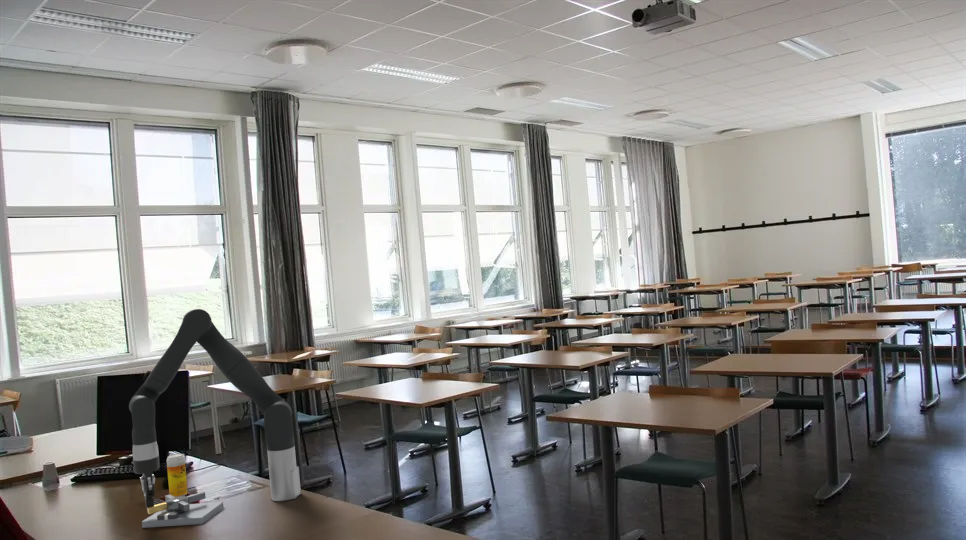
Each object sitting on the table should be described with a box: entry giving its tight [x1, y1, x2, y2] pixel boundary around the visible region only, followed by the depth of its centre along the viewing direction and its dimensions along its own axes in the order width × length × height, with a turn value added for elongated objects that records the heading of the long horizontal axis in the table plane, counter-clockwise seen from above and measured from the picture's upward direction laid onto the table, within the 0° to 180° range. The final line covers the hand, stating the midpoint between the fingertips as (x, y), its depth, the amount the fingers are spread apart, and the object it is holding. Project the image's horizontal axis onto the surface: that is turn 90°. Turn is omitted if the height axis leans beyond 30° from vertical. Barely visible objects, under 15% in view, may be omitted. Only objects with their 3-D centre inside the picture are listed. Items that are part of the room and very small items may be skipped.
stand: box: [141, 501, 225, 529], centre depth 227 cm, size 20×15×3 cm
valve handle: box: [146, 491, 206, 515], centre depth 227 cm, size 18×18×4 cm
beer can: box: [166, 453, 188, 497], centre depth 252 cm, size 6×6×15 cm
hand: (150, 509), depth 223 cm, fingers closed
